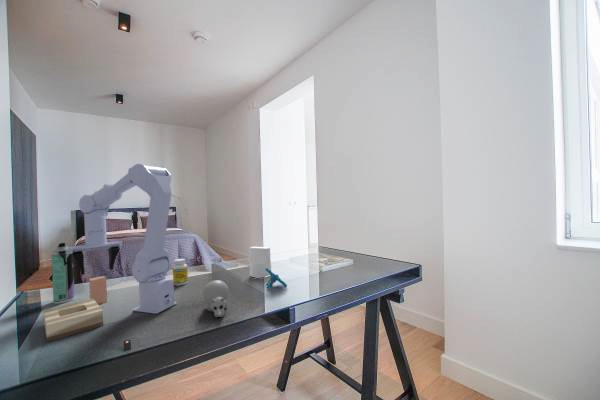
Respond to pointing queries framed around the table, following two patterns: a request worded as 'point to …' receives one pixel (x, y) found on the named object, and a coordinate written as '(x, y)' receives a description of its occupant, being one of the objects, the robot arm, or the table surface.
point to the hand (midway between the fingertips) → (97, 271)
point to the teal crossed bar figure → (273, 279)
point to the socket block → (72, 319)
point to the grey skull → (216, 297)
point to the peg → (98, 289)
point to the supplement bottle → (180, 272)
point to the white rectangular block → (259, 261)
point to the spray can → (62, 275)
